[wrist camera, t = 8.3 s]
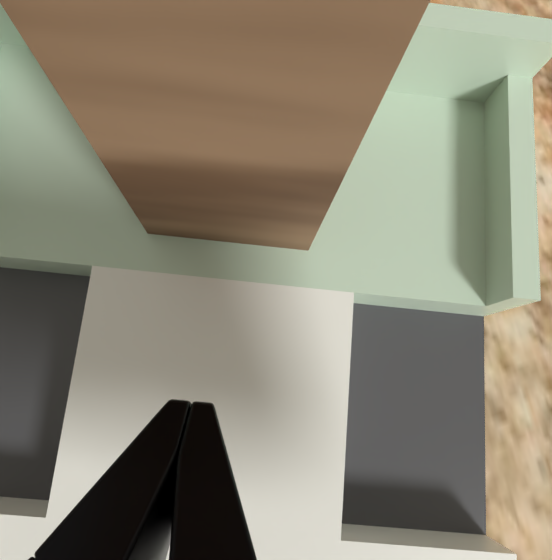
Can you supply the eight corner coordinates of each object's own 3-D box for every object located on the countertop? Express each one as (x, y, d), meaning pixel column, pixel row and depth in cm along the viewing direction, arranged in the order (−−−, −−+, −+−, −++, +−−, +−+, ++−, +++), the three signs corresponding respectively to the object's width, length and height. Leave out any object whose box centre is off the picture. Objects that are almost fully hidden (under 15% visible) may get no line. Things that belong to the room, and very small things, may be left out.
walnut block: (308, 250, 15) (490, -122, 4) (147, 233, 14) (-138, -212, 4) (319, 109, 16) (483, -487, 5) (170, 90, 15) (4, -575, 5)
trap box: (483, 796, 13) (620, 1031, 9) (-164, 762, 13) (-420, 1002, 8) (477, 117, 18) (562, 20, 13) (12, 60, 17) (-77, -65, 13)
